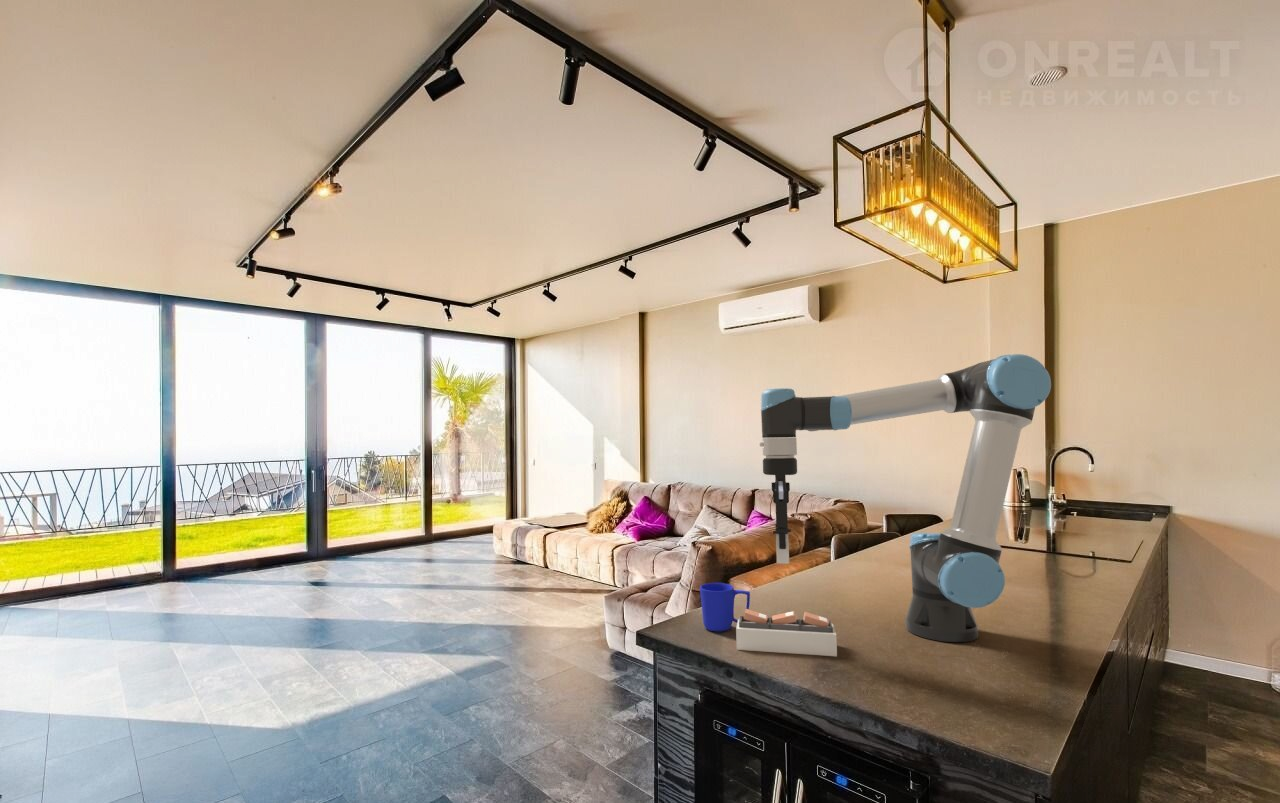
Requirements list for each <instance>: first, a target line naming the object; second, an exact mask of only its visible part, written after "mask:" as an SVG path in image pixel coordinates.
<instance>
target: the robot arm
mask: <svg viewBox="0 0 1280 803" xmlns="http://www.w3.org/2000/svg"><path fill="white" fill-rule="evenodd" d="M1051 387H1052V382H1051V376H1050V373H1049V372H1048V370H1047V369H1046V368H1045V366H1044V365H1043V364H1042V363H1041V361H1039V360H1038V359H1037V358H1035V357H1032V356H1031V355H1027V354H1018V353H1014V354H1004V355H1003V354H1002V355H1000V356H998V357H996V358H993V359H990V360H986V361H985V360H984V361H981V362H978V363H976V364H973V365H971V366H967V367H965V368H963V369H959V370H956V371H952V372H946V373H942V374H940V375H939V376H938V377H937V378H936V379H930V380H925V381H920V382H919V381H918V382H913V383H907V384H901V385H894V386H890V387H885V388H884V387H883V388H879V389H873V390H866V391H861V392H859V391H858V392H855V393H848V394H842V395H838V396H837V395H831V396H813V397H811V396H809V397H808V396H807V397H803V396H801V397H799V396H796V392H795V390H794V389H792V388H785V387H784V388H780V387H779V388H769V389H765V390H764V391H763V392H762V393H761V399H760V401H761V403H760V404H761V405H760V407H761V409H760V413H761V416H760V417H761V434H762V435H761V437H762V441H761V442H760V443H759V447H763V448H762V455H763V456H764V457H765V458H763V459H762V473H763V474H764V475H765V476H774V478H775V479H774V480H775V482H773V481H772V482H771V492H772V502H773V503H774V504H775V530H772V534H774V535H775V545H776V546H775V550H776V551H775V552H776V564H781V565H784V564H785V565H786V564H789V565H790V551H789V550H790V549H789V548H790V547H789V545H790V544H789V533H791V532H792V530H791V528H789V527H788V521H789V520H788V504H789V502H790V497H789V496H790V494H789V492H790V489H791V488H790V486H791V485H790V484H791V483H790V482H786V481H787V480H786V476H794V475H797V473H798V460H797V458H796V457H795V456H797V455H798V451H797V450H798V449H797V448H798V446H797V431H808V432H818V431H838V430H839V431H841V430H848V429H849V428H850V427H851V426H853V425H859V424H865V423H871V422H875V421H876V422H877V421H883V420H889V419H896V418H901V417H908V416H916V415H921V414H928V413H934V412H939V411H944V412H946V413H948V414H953V413H961V412H969V414H971V416H972V417H973V419H974V425H973V430H972V435H971V438H970V442H969V448H968V452H967V456H966V460H965V465H964V466H963V467H964V468H963V472H962V477H961V481H960V485H959V489H958V495H957V497H956V501H955V507H954V510H953V513H952V514H953V515H952V519H951V522H950V526H949V527H947V528H945V529H943V530H942V531H941V532H916V533H913V534H911V535H910V538H909V539H910V542H909V543H910V544H909V549H910V569H911V571H910V572H911V587H912V588H911V589H912V597H911V600H910V603H909V605H908V606H909V607H908V610H907V614H906V617H905V628H906V630H907V631H908V632H910V633H911V634H914V635H916V636H919V637H921V638H924V639H928V640H933V641H938V642H948V643H949V642H950V643H966V642H972V641H975V640H977V639H978V638H979V626H978V623H977V621H976V618H975V616H974V613H973V610H972V609H977V608H979V609H980V608H984V607H986V606H988V605H991V604H993V603H994V602H997V600H998V599H999V598H1000V596H1001V595H1002V594H1003V591H1004V588H1005V584H1006V576H1005V573H1004V571H1003V569H1002V567H1001V565H1000V564H999V563H1000V560H1001V555H1002V550H1003V549H1002V546H1001V545H1000V544H999V542H998V541H997V533H998V530H999V526H1000V521H1001V517H1002V513H1003V508H1004V504H1005V500H1006V495H1007V493H1008V492H1007V491H1008V487H1009V482H1010V478H1011V473H1012V469H1013V466H1014V460H1015V457H1016V453H1017V449H1018V445H1019V440H1020V436H1021V432H1022V429H1024V428H1025V427H1028V426H1029V425H1031V424H1033V423H1032V422H1033V419H1034V414H1035V410H1036V408H1037V407H1038V406H1040V405H1041V404H1042V403H1043V402H1044V401H1046V400H1047V398H1048V397H1049V394H1050V392H1051Z"/></svg>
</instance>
